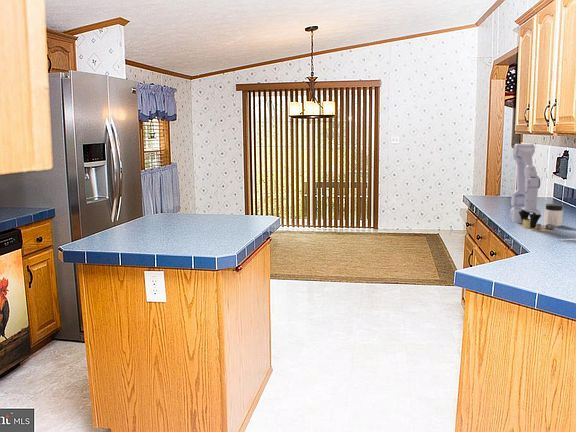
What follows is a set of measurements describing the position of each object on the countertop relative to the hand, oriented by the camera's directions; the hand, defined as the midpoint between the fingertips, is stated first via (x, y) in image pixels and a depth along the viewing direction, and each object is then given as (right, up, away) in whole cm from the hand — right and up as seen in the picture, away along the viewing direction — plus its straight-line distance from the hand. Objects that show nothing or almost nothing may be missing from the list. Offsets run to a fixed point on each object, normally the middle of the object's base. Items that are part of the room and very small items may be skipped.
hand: (528, 226), depth 283 cm
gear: (+9, -2, -5) cm, 10 cm away
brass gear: (0, -1, 0) cm, 1 cm away
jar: (+16, -1, +8) cm, 18 cm away
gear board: (+4, -2, -2) cm, 5 cm away
